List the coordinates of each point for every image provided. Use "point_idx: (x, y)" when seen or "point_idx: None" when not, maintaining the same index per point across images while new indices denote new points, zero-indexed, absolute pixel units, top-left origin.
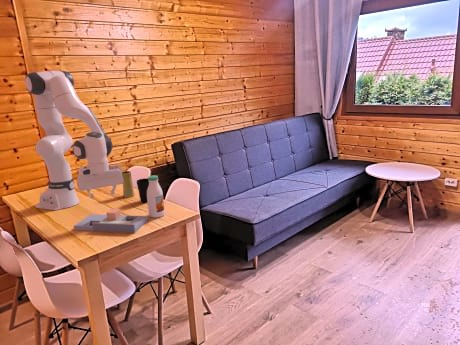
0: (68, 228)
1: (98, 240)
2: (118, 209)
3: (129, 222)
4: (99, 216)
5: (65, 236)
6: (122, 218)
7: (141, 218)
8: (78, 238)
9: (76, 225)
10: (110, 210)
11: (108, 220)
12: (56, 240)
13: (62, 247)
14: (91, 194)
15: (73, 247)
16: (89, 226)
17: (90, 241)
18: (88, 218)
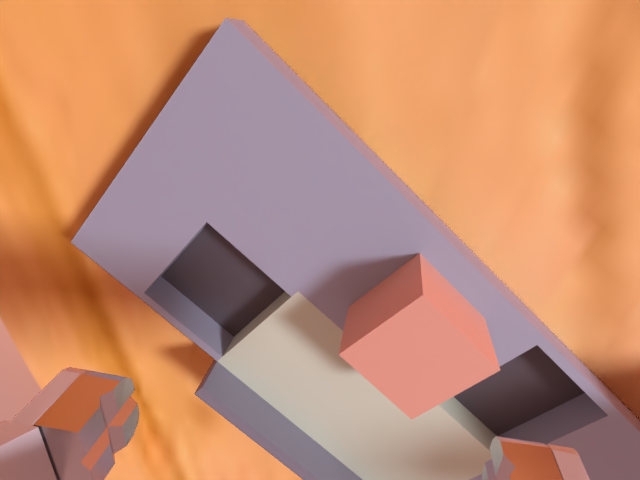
0: (48, 164)
1: (235, 466)
2: (487, 359)
3: (474, 470)
4: (302, 175)
5: (50, 296)
6: None
7: (598, 472)
8: (130, 375)
9: (92, 250)
10: (398, 325)
11: None
12: (6, 315)
13: None
14: (54, 463)
15: None
16: (189, 337)
17: (193, 449)
18: (193, 153)
